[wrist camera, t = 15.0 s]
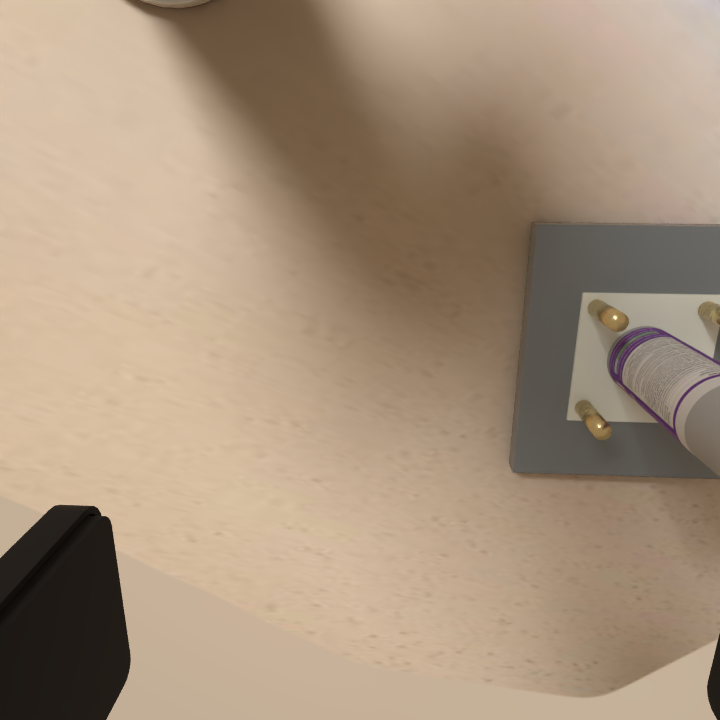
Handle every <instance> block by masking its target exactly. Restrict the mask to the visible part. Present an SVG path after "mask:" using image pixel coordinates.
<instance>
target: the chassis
mask: <svg viewBox="0 0 720 720" xmlns="http://www.w3.org/2000/svg"><path fill="white" fill-rule="evenodd" d="M595 299H600V300H602V301H604V302H606V303H607V304H609V305H611V306H612V307H614V308H616V309H617V310H619V311H621V312H622V313H624V314H626V315H627V316H628V318H629V325H628V327H627V328H626V329H625V330H624V331H622V332H614V331H612V330H611V329H609V328H608V327H607V326H605V325H604V324H602V323H601V322H600V321H598V320H597V319H595V318H594V317H593V316H591V315H590V314H589V313H588V309H587V308H588V305H589V303H590V302H591V301H593V300H595ZM706 301H712V302H714V303H717V304H719V305H720V225H716V224H627V223H538V222H532V229H531V239H530V250H529V260H528V271H527V281H526V292H525V302H524V312H523V323H522V333H521V344H520V354H519V365H518V375H517V386H516V396H515V407H514V417H513V428H512V438H511V449H510V459H509V464H510V466H511V469H512V471H513V473H544V474H576V475H608V476H640V477H672V478H704V479H720V477H719V476H718V475H717V474H716V473H715V472H713V471H712V470H711V469H710V468H709V467H707V466H706V465H705V464H704V463H703V462H702V461H700V460H699V459H698V458H697V457H696V456H695V455H693V454H692V453H691V452H690V451H689V450H687V449H686V448H685V447H684V446H683V445H682V444H681V443H680V442H679V441H678V440H676V439H675V438H674V437H673V436H672V435H671V434H670V433H669V432H668V431H667V430H666V429H665V428H664V427H663V426H661V425H660V424H659V423H658V422H657V421H656V420H655V419H654V418H653V417H652V416H651V415H650V414H649V413H647V412H646V411H645V410H644V409H643V408H642V407H641V406H640V405H639V404H638V403H637V402H636V401H635V400H634V399H632V398H631V397H630V396H629V395H628V394H627V393H626V392H625V391H624V390H623V389H622V388H621V387H620V386H618V385H617V383H616V382H615V381H614V380H613V379H612V378H611V376H610V374H609V372H608V368H607V357H608V353H609V350H610V348H611V346H612V345H613V343H614V342H615V340H616V339H617V338H618V337H619V336H621V335H622V334H623V333H625V332H626V331H628V330H630V329H633V328H636V327H640V326H652V327H656V328H659V329H662V330H663V331H665V332H667V333H669V334H671V335H673V336H674V337H676V338H678V339H680V340H681V341H683V342H685V343H687V344H688V345H690V346H692V347H694V348H695V349H697V350H699V351H701V352H702V353H704V354H706V355H708V356H709V357H711V358H713V359H715V360H716V361H718V362H720V326H718V325H716V324H714V323H712V322H710V321H707V320H705V319H703V318H701V317H700V316H699V315H698V308H699V306H700V305H701V304H702V303H703V302H706ZM580 400H588V401H589V402H590V403H591V404H592V405H593V406H594V407H595V409H596V410H597V411H598V412H599V413H600V414H601V415H602V417H603V418H604V419H605V420H606V421H607V422H608V424H609V425H610V426H611V427H612V434H611V436H610V437H609V438H608V439H606V440H598V439H596V438H595V437H594V435H593V434H592V433H591V431H590V430H589V429H588V428H587V426H586V425H585V424H584V422H583V421H582V420H581V418H580V417H579V416H578V415H577V413H576V412H575V405H576V403H577V402H579V401H580Z"/></svg>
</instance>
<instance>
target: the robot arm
mask: <svg viewBox="0 0 720 720" xmlns="http://www.w3.org/2000/svg"><path fill="white" fill-rule="evenodd" d="M140 1H142V2H145V3H149V4H152V5H156V6H160V7H170V8H185V7H191V6H196V5H201V4H203V3H206V2H208V1H210V0H140ZM123 608H124V607H123V600H122V593H121V587H120V579H119V573H118V566H117V559H116V552H115V545H114V538H113V531H112V525H111V521H110V519H109V518H108V517H106V516H101V513H100V511H99V509H98V508H96V507H95V506H75V505H56V506H54V507H53V508H51V509H50V510H49V511H48V512H47V513H46V514H45V515H44V516H43V517H42V518H41V519H40V520H39V521H38V522H37V523H36V524H35V525H34V526H32V527H31V529H29V530H28V532H26V533H25V534H24V535H23V536H22V537H21V538H20V539H19V540H18V541H17V542H16V543H15V544H14V545H13V546H12V547H11V548H10V549H9V550H8V551H7V552H6V553H5V554H4V555H3V556H2V557H1V558H0V720H106V719H107V717H108V715H109V713H110V711H111V710H112V708H113V706H114V704H115V702H116V700H117V698H118V696H119V694H120V692H121V690H122V688H123V687H124V684H125V682H126V680H127V677H128V673H129V669H130V660H131V659H130V649H129V642H128V635H127V629H126V621H125V615H124V609H123ZM707 691H708V699H709V702H710V706H711V709H712V711H713V713H714V715H715V716H716V718H717V720H720V634H719V638H718V643H717V647H716V651H715V655H714V659H713V663H712V667H711V671H710V675H709V680H708V685H707Z"/></svg>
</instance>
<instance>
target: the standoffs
mask: <svg viewBox="0 0 720 720" xmlns="http://www.w3.org/2000/svg"><path fill="white" fill-rule="evenodd" d="M587 309H588V313H589V314H590V315H591V316H593V317H594V318H595V319H597V320H598V321H600V322H601V323H602V324H604V325H605V326H607V327H608V328H609V329H611V330H612V331H614V332H622V331H624V330H625V329H626V328H627V327H628V325H629V318H628V316H627V315H626V314H624V313H622V312H621V311H619V310H617V309H616V308H614V307H612V306H611V305H609V304H607V303H606V302H604V301H602V300H600V299H595V300H593V301H591V302H590V303H589V305H588V308H587ZM698 315H699V316H700V317H701V318H703V319H705V320H707V321H710V322H712V323H714V324H716V325H718V326H720V305H719V304H717V303H714V302H712V301H706V302H703V303H702V304H701V305H700V306H699V308H698ZM575 412H576V413H577V415H578V416H579V417H580V418H581V420H582V421H583V422H584V424H585V425H586V426H587V428H588V429H589V430H590V431H591V433H592V434H593V435H594V437H595V438H596V439H598V440H606V439H608V438H609V437H610V436H611V434H612V427H611V426H610V425H609V424H608V422H607V421H606V420H605V419H604V418H603V417H602V415H601V414H600V413H599V412H598V411H597V410H596V409H595V407H594V406H593V405H592V404H591V403H590V402H589V401H588V400H580V401H579V402H577V403H576V405H575Z"/></svg>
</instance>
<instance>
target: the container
mask: <svg viewBox="0 0 720 720" xmlns="http://www.w3.org/2000/svg"><path fill="white" fill-rule="evenodd" d="M607 368H608V372H609V374H610V376H611V378H612V379H613V380H614V381H615V382H616V383H617V385H618V386H620V387H621V388H622V389H623V390H624V391H625V392H626V393H627V394H628V395H629V396H630V397H631V398H632V399H634V400H635V401H636V402H637V403H638V404H639V405H640V406H641V407H642V408H643V409H644V410H645V411H646V412H647V413H649V414H650V415H651V416H652V417H653V418H654V419H655V420H656V421H657V422H658V423H659V424H660V425H661V426H663V427H664V428H665V429H666V430H667V431H668V432H669V433H670V434H671V435H672V436H673V437H674V438H675V439H676V440H678V441H679V442H680V443H681V444H682V445H683V446H684V447H685V448H686V449H687V450H689V451H690V452H691V453H692V454H693V455H695V456H696V457H697V458H698V459H699V460H700V461H702V462H703V463H704V464H705V465H706V466H707V467H709V468H710V469H711V470H712V471H713V472H715V473H716V474H717V475H718V476H719V477H720V362H718V361H716V360H715V359H713V358H711V357H709V356H708V355H706V354H704V353H702V352H701V351H699V350H697V349H695V348H694V347H692V346H690V345H688V344H687V343H685V342H683V341H681V340H680V339H678V338H676V337H674V336H673V335H671V334H669V333H667V332H665V331H663V330H662V329H659V328H656V327H652V326H640V327H636V328H633V329H630V330H628V331H626V332H625V333H623V334H622V335H621V336H619V337H618V338H617V339H616V340H615V342H614V343H613V345H612V346H611V348H610V350H609V353H608V357H607Z"/></svg>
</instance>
